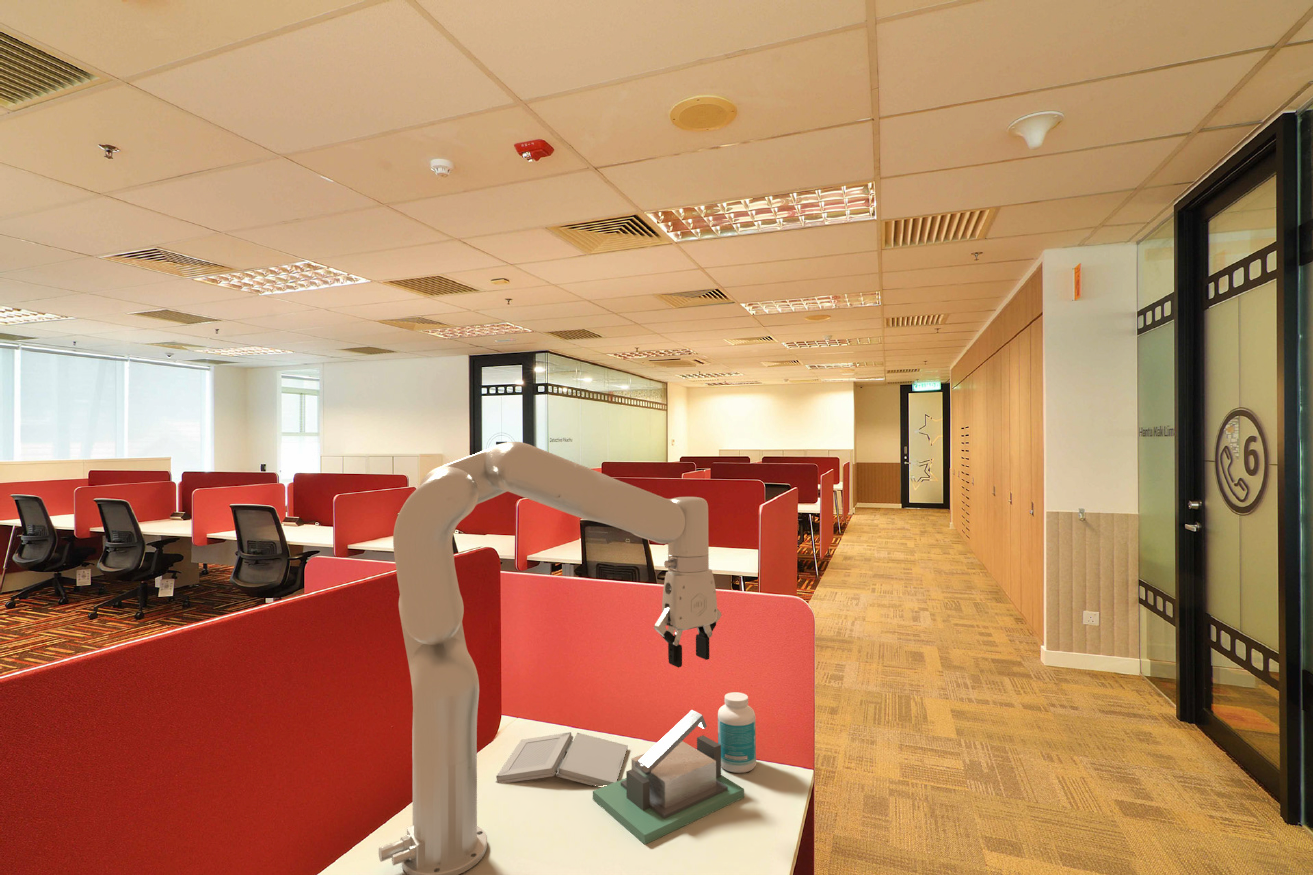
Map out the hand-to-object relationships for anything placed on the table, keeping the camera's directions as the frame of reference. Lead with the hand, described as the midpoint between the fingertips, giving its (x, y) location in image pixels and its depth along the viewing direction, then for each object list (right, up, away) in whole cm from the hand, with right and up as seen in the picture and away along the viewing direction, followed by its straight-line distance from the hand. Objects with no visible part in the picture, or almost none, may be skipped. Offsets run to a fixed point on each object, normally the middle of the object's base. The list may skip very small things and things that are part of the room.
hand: (689, 660), depth 115 cm
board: (-4, -24, -4) cm, 24 cm away
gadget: (-24, -25, +9) cm, 36 cm away
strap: (-3, -15, -3) cm, 16 cm away
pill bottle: (+10, -24, +8) cm, 27 cm away
